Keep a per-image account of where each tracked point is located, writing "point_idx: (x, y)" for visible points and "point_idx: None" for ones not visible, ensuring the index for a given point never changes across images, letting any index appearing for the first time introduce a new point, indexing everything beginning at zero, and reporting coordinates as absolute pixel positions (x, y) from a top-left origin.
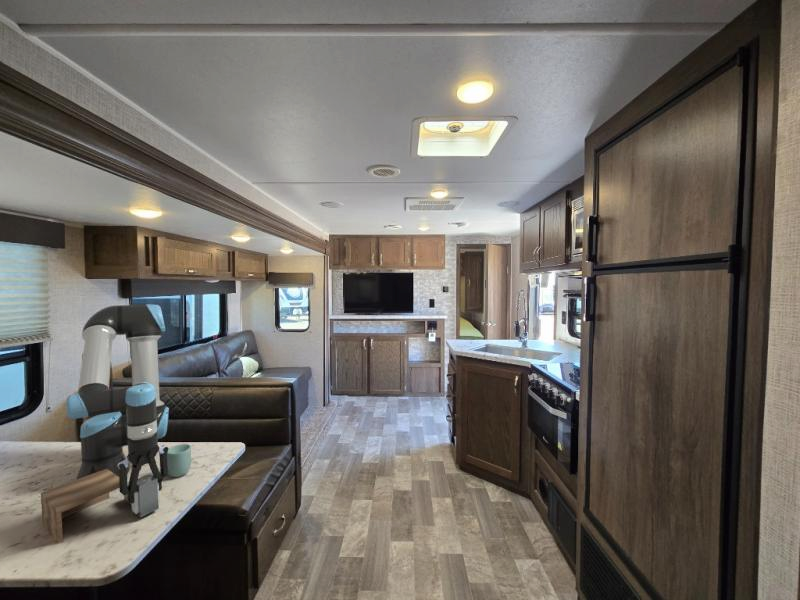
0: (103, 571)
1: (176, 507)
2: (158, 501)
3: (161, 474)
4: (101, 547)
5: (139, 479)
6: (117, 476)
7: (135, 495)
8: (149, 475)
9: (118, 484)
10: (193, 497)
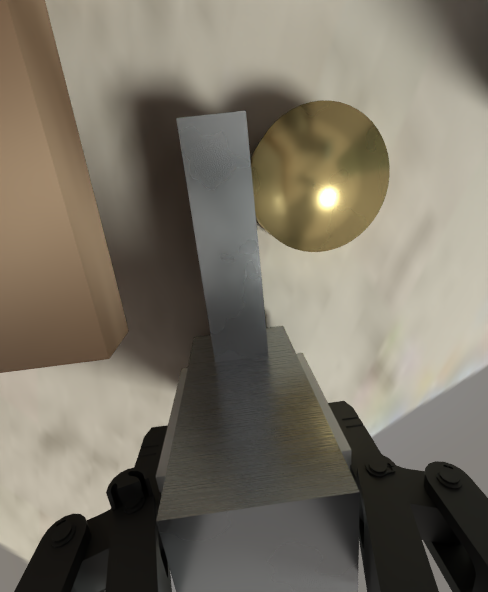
0: None
1: None
2: None
3: (424, 525)
4: (55, 461)
5: (230, 537)
6: (29, 100)
7: None
8: (336, 527)
9: (43, 362)
10: (428, 397)
